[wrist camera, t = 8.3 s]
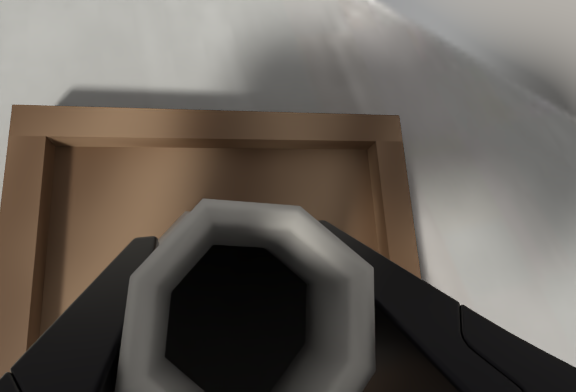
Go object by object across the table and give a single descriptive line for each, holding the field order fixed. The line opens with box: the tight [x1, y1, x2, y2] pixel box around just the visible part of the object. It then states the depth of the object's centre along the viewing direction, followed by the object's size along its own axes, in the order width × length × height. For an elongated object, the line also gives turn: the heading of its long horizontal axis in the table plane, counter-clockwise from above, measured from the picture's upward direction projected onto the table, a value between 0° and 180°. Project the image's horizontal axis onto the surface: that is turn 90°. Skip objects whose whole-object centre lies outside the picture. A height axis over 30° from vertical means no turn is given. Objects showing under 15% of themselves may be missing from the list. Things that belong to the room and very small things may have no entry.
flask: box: [115, 199, 376, 392], centre depth 10 cm, size 7×7×10 cm
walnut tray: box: [0, 105, 421, 378], centre depth 15 cm, size 15×15×2 cm
